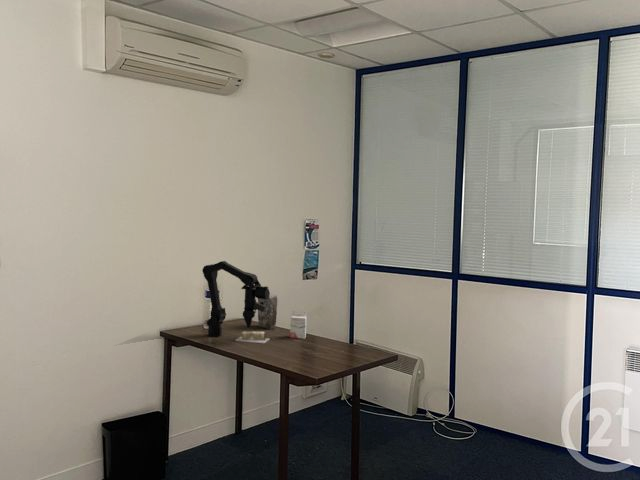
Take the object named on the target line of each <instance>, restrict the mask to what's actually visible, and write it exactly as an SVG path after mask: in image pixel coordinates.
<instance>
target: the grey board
mask: <svg viewBox="0 0 640 480" xmlns="http://www.w3.org/2000/svg"><path fill="white" fill-rule="evenodd" d="M270 340H271V339H270V337H269V338H267V337H266V340H241V336H239V337H237V338H236V339H235V342H244V343H246V342H247V343H252V344H253V343H255V344H265V343H267V342H268V341H270Z"/></svg>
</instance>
